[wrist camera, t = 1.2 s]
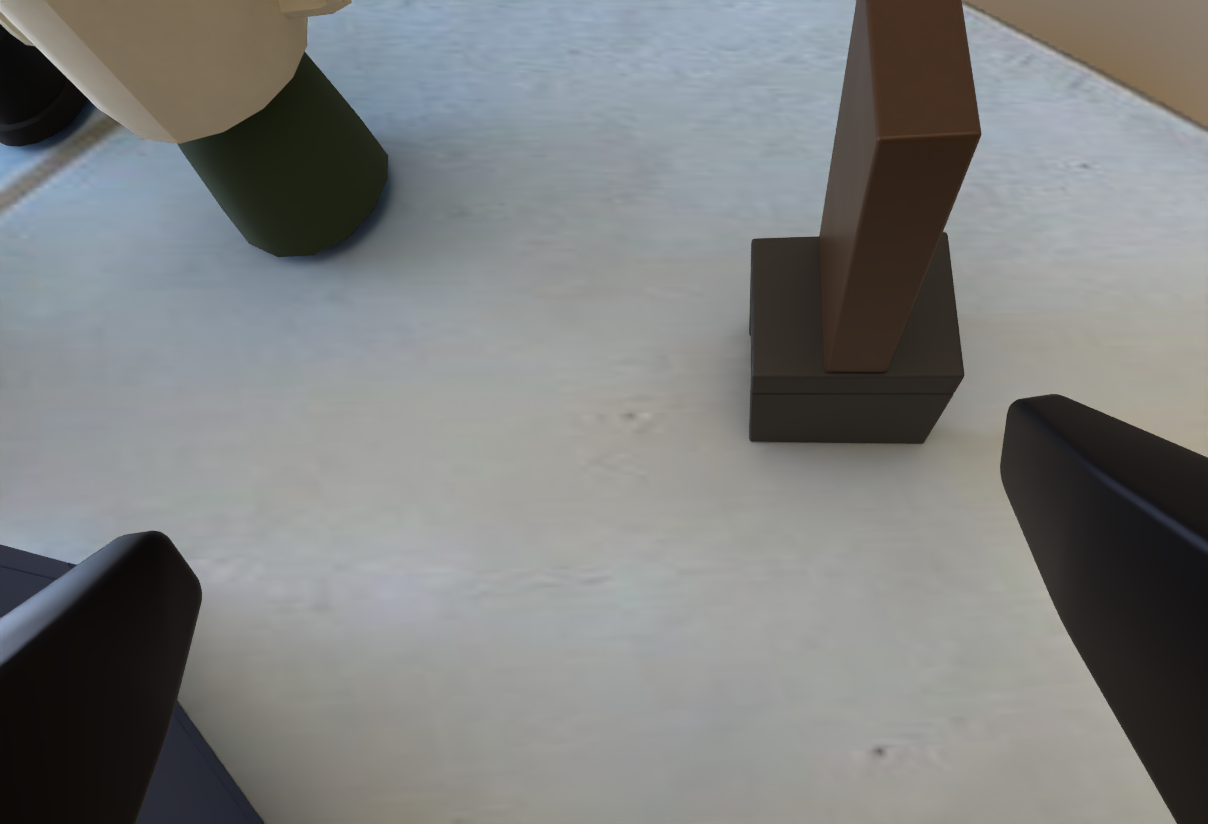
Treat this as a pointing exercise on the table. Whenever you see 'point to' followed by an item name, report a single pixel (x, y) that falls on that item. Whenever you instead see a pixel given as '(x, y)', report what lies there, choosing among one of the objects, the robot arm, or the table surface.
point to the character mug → (224, 104)
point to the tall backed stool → (873, 246)
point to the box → (187, 764)
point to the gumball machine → (33, 94)
